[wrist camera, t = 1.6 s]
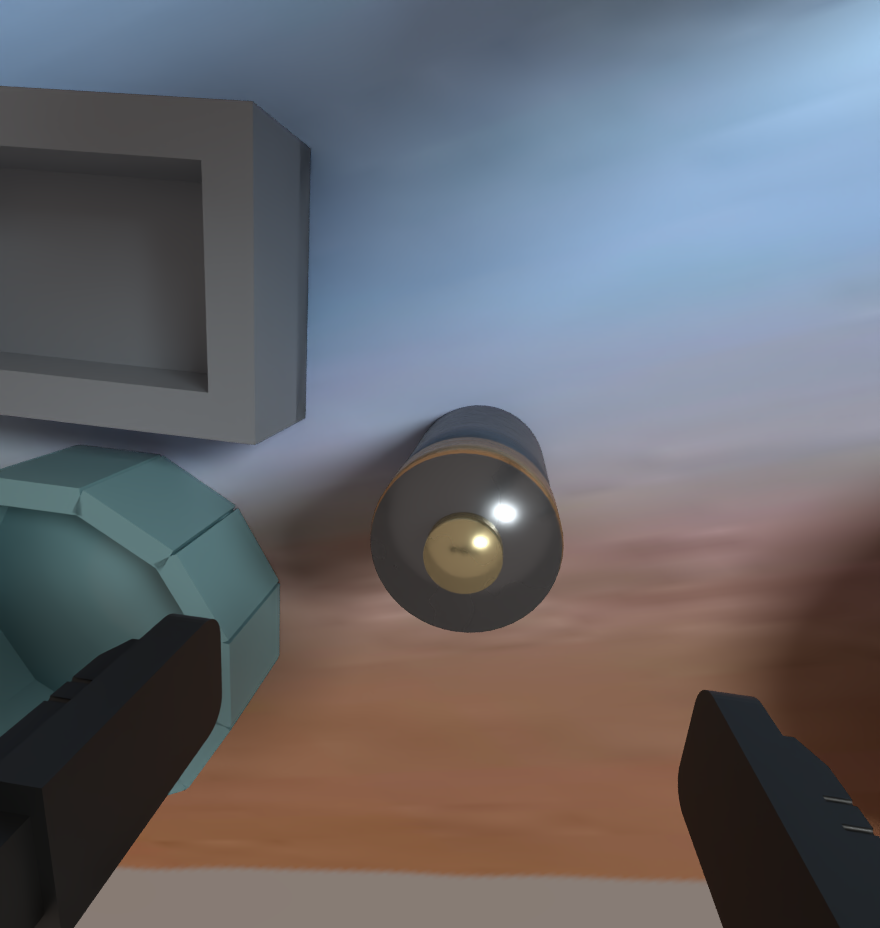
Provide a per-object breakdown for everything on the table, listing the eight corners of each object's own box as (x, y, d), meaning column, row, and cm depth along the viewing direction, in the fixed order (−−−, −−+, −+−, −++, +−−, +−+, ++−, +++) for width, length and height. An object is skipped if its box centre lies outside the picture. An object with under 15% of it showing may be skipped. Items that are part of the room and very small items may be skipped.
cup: (-34, 430, 24) (-154, 458, 19) (280, 469, 22) (226, 507, 18) (9, 702, 27) (-83, 775, 23) (278, 748, 26) (233, 834, 22)
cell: (419, 397, 21) (368, 448, 13) (554, 411, 20) (582, 473, 13) (409, 521, 22) (358, 631, 15) (535, 537, 22) (550, 660, 14)
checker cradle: (-107, 120, 20) (-271, 69, 16) (310, 148, 19) (252, 101, 15) (-63, 376, 23) (-194, 391, 19) (305, 418, 22) (255, 444, 17)
